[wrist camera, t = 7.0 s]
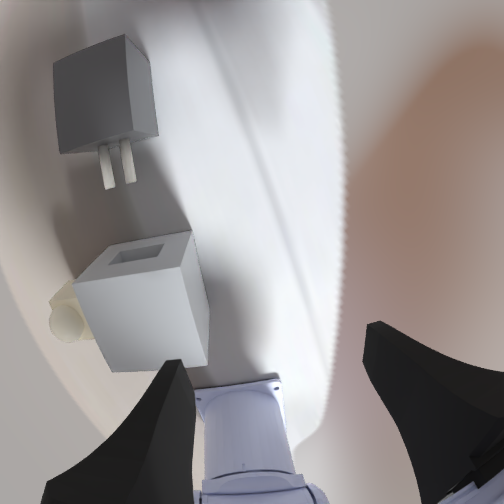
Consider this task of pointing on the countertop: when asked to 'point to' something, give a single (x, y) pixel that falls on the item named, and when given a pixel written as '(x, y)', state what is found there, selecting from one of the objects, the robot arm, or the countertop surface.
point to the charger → (104, 103)
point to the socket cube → (147, 303)
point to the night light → (68, 316)
